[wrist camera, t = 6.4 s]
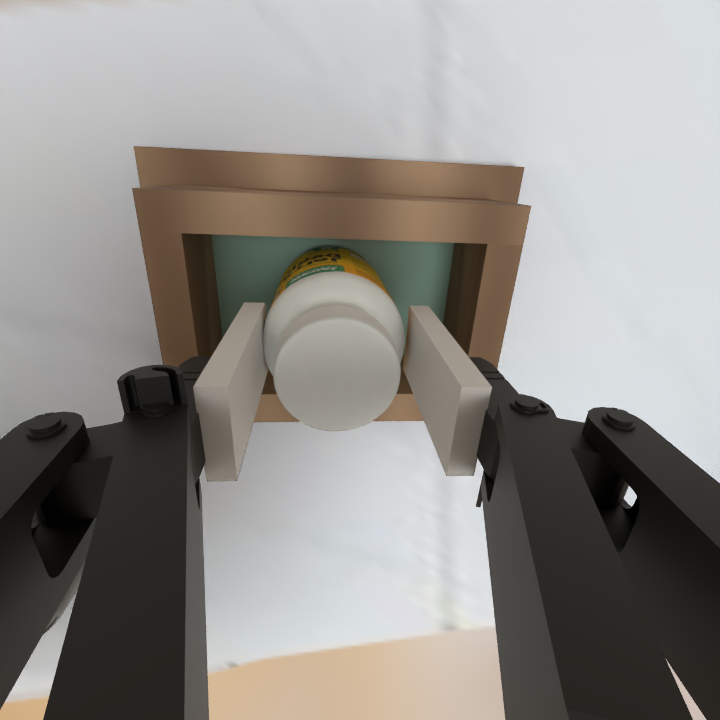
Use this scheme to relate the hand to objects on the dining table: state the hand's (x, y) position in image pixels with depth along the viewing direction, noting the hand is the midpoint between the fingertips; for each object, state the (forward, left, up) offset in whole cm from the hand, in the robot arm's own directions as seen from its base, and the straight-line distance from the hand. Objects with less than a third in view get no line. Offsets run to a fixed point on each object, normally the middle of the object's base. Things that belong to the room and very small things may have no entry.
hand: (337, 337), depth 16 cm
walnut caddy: (0, 0, -7) cm, 7 cm away
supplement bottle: (0, 0, -6) cm, 6 cm away
